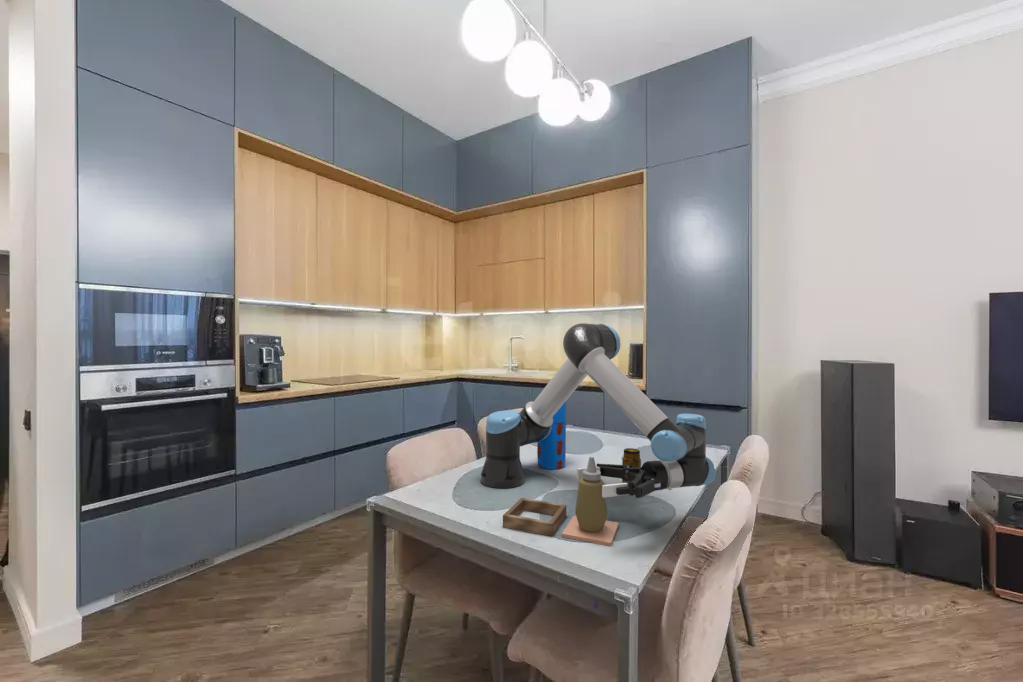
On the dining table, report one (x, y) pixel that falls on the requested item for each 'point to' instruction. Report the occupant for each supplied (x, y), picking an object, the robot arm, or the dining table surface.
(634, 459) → the condiment
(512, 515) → the bottle holder
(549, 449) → the thermos
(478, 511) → the dining table surface
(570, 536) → the tile
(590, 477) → the squeeze bottle
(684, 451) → the robot arm
